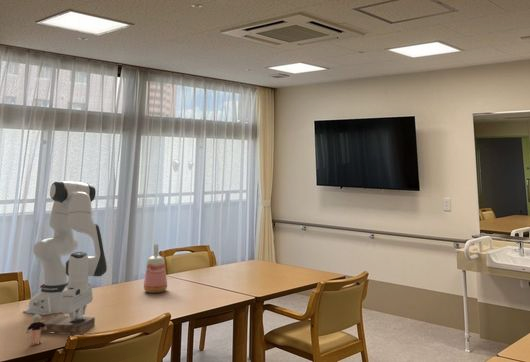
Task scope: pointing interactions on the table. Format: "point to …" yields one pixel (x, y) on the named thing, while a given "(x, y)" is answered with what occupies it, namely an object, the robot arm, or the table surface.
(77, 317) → the peg
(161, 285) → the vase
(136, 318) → the table surface
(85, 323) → the peg board
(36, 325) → the grandmother figurine
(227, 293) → the table surface
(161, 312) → the table surface
